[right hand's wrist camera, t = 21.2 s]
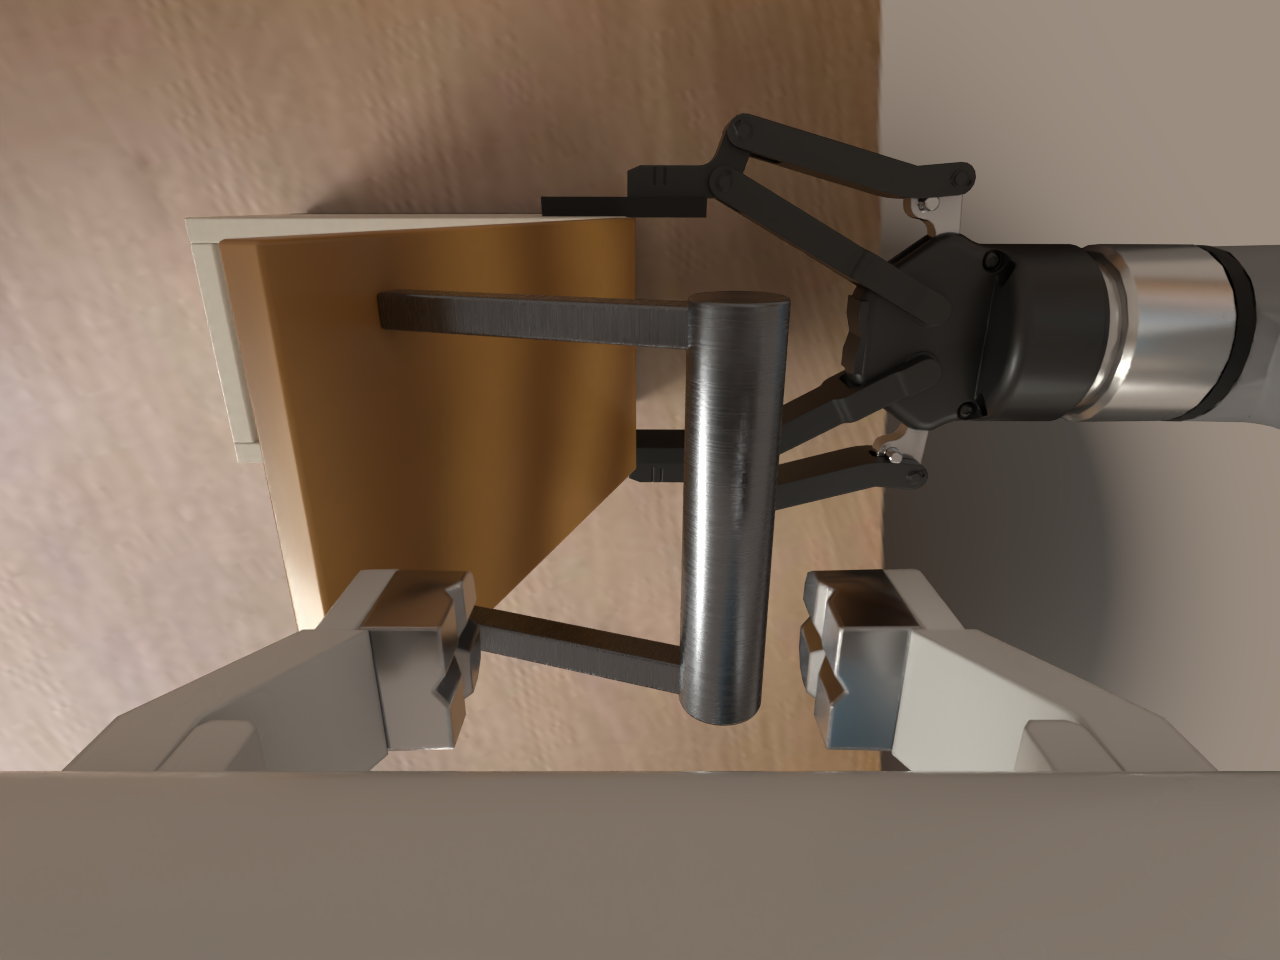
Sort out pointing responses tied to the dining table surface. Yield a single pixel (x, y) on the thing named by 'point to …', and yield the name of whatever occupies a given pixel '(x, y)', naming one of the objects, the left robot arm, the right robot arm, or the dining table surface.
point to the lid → (510, 428)
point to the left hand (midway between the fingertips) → (551, 333)
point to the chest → (215, 229)
